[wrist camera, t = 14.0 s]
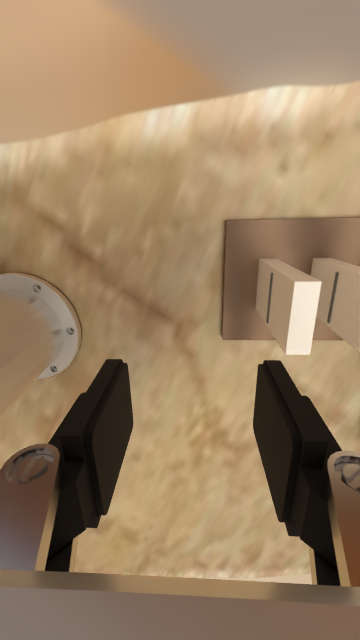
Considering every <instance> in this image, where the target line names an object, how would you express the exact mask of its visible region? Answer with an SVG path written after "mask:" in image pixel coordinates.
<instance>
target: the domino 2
mask: <svg viewBox="0 0 360 640" xmlns="http://www.w3.org/2000/svg"><path fill="white" fill-rule="evenodd" d="M311 276H312V277H314V278H316V279H318V280H320V281H322V283H321V289H320V295H319V301H318V308H317V314H316V317H317V318H318V319H319V320H320V321H321V322H323V323H324V324H325V325H326V326H328V327H329V328H330V329H331V330H332V331H334V332H335V333H336V334H337V335H338V336H340V337H341V338H342V339H343V340H344V341H346V342H347V343H348V344H349V345H351V346H352V347H353V348H354V349H355V350H357V351H358V352H359V353H360V266H356V265H353V264H350V263H346V262H343V261H340V260H336V259H333V258H313V262H312V269H311Z"/></svg>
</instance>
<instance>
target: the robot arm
mask: <svg viewBox="0 0 360 640" xmlns="http://www.w3.org/2000/svg"><path fill="white" fill-rule="evenodd" d="M40 287H41V288H40ZM72 328H73V329H74V330H73V329H72ZM80 343H81V328H80V323H79V320H78V317H77V314H76V312H75V310H74V309H73V307H72V305H71V304H70V302H69V301H68V300H67V298H66V297H65V296H64V295H63V294H62V293H61V292H60V291H59V290H58V289H57V288H55V287H54V286H52V285H51V284H49V283H48V282H47V281H44V280H42V279H40V278H38V277H36V276H32V275H29V274H25V273H15V272H12V273H3V274H0V415H1V414H2V413H3V412H4V411H5V410H6V409H7V408H8V407H9V406H10V405H11V404H12V403H13V402H14V401H15V400H16V399H17V398H18V397H19V396H20V395H21V394H22V393H23V392H24V391H25V390H26V389H27V388H28V387H29V386H30V385H31V384H32V383H33V382H34V381H35V380H37V379H45V378H49V377H53V376H55V375H57V374H59V373H61V372H62V371H63V370H64V369H66V368H67V367H68V366H69V365H70V363H71V362H72V361H73V360H74V358H75V356H76V355H77V353H78V350H79V347H80ZM132 428H133V413H132V403H131V393H130V383H129V373H128V365H127V363H123V361H122V359H107V360H106V361H105V363H104V364H103V366H102V368H101V369H100V371H99V372H98V374H97V376H96V377H95V379H94V380H93V382H92V384H91V385H90V387H89V388H88V390H87V392H86V393H81V394H80V395H79V397H78V398H77V400H76V401H75V403H74V404H73V406H72V408H71V409H70V411H69V412H68V414H67V415H66V417H65V418H64V420H63V421H62V423H61V424H60V426H59V428H58V429H57V431H56V432H55V434H54V435H53V437H52V438H51V440H50V441H49V443H48V444H46V443H45V444H36V445H32V446H28V447H26V448H24V449H22V450H20V451H18V452H17V453H15V454H14V455H12V456H11V457H10V458H9V459H8V460H7V461H6V462H5V463H4V465H3V466H2V468H1V469H0V640H360V454H359V453H356V452H351V451H342V450H341V448H340V446H339V445H338V443H337V442H336V440H335V438H334V437H333V435H332V434H331V432H330V431H329V429H328V427H327V426H326V424H325V423H324V421H323V419H322V418H321V416H320V415H319V413H318V411H317V410H316V408H315V407H314V405H313V404H312V402H311V400H310V399H309V398H308V397H307V396H301V394H300V393H299V391H298V389H297V388H296V386H295V384H294V383H293V381H292V379H291V377H290V376H289V374H288V372H287V371H286V369H285V367H284V366H283V364H282V362H281V361H279V360H265V361H264V363H263V364H259V365H258V373H257V384H256V396H255V407H254V418H253V429H254V434H255V437H256V441H257V445H258V448H259V452H260V456H261V459H262V463H263V467H264V470H265V474H266V478H267V481H268V485H269V489H270V492H271V496H272V500H273V503H274V507H275V510H276V514H277V518H278V520H279V522H285V525H286V528H287V532H288V535H289V536H299V537H300V539H301V540H302V541H303V542H305V543H306V544H307V545H308V546H309V554H310V565H311V575H312V585H309V584H292V583H275V582H256V581H238V580H218V579H200V578H180V577H161V576H141V575H121V574H99V573H77V572H74V569H75V560H76V551H77V543H78V535H79V534H81V533H82V532H83V531H85V530H86V528H97V527H98V524H99V521H100V517H101V515H106V514H107V512H108V509H109V506H110V503H111V499H112V496H113V493H114V489H115V486H116V482H117V479H118V476H119V472H120V469H121V466H122V462H123V459H124V456H125V452H126V449H127V445H128V442H129V439H130V435H131V432H132Z"/></svg>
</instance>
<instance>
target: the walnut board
mask: <svg viewBox="0 0 360 640" xmlns="http://www.w3.org/2000/svg"><path fill="white" fill-rule="evenodd" d="M313 258H333V259H336V260H340V261H343V262H346V263H350V264H353V265H356V266H360V217H355V218H309V219H262V220H226V222H225V250H224V279H223V307H222V340H276V339H275V338H274V336H273V335H272V333H271V332H270V330H269V329H268V327H267V326H266V324H265V323H264V321H263V320H262V318H261V316H260V315H259V313H258V312H257V310H256V309H255V307H256V294H257V282H258V269H259V259H278V260H280V261H282V262H284V263H286V264H288V265H290V266H292V267H294V268H296V269H298V270H300V271H302V272H304V273H306V274H308V275H310V276H311V269H312V262H313ZM312 340H343V339H342V338H341V337H340V336H338V335H337V334H336V333H335V332H334V331H332V330H331V329H330V328H329V327H328V326H326V325H325V324H324V323H323V322H321V321H320V320H319V319H318V318H317V317H316V320H315V326H314V332H313V338H312Z"/></svg>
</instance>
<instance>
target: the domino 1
mask: <svg viewBox="0 0 360 640" xmlns="http://www.w3.org/2000/svg"><path fill="white" fill-rule="evenodd" d="M321 283H322V281H320V280H318V279H316V278H314V277H312V276H310V275H308V274H306V273H304V272H302V271H300V270H298V269H296V268H294V267H292V266H290V265H288V264H286V263H284V262H282V261H280V260H278V259H259V269H258V282H257V294H256V307H255V309H256V310H257V312H258V313H259V315H260V316H261V318H262V320H263V321H264V323H265V324H266V326H267V327H268V329H269V330H270V332H271V333H272V335H273V336H274V338H275V339H276V341H277V342H278V344H279V345H280V347H281V348H282V350H283V352H284V353H285V355H310V351H311V345H312V338H313V332H314V326H315V320H316V314H317V308H318V301H319V295H320V289H321Z"/></svg>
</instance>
